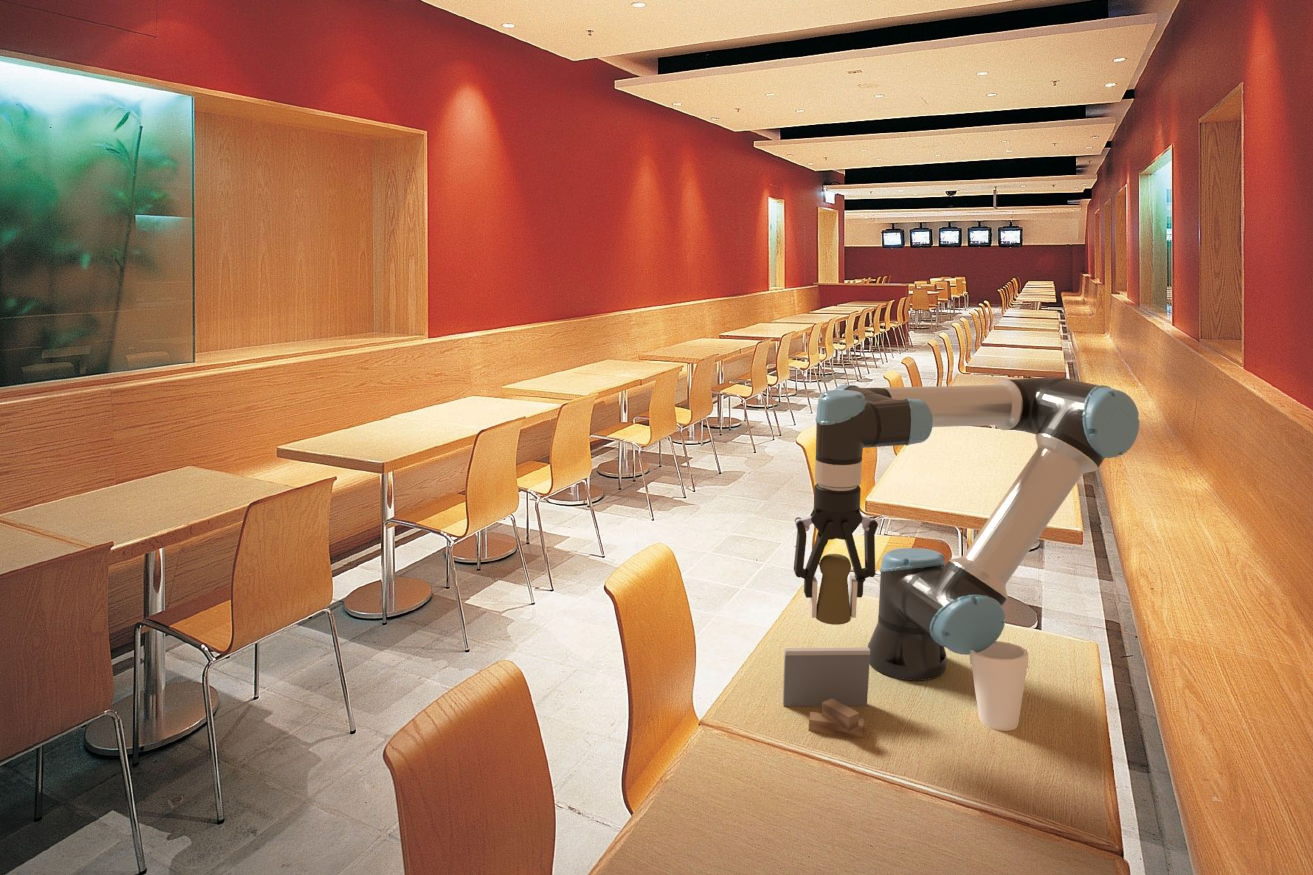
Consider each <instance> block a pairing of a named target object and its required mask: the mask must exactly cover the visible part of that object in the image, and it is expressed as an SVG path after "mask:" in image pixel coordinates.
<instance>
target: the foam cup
mask: <svg viewBox="0 0 1313 875" xmlns="http://www.w3.org/2000/svg"><path fill="white" fill-rule="evenodd" d="M969 663H970V664H969V665H971V669H972V678H973V685H974V692H975V699H976V707H977V713H978V719H979V721H980V722H981V723H982V724H983V725H984V726H986V727H988V728H989V729H993V730H996V731H999V732H1000V731H1004V732H1006V731H1012V730H1016V728H1018V727H1019V722H1020V718H1021V716H1020V715H1021V708H1022V703H1023V697H1024V696H1023V695H1024V689H1025V684H1026V683H1025V682H1026V676H1027V670H1028V668H1029V653H1028V649H1026V648H1024V647H1022V646H1020V645H1017V644H1015V643H1011V642H1005V641H998V640H996V641H995V642H994V643H993V644H992V645H991V646H990V647H988V648H987V649H985V650H983V651H981V652H978V653H976V652H975V651H974V650H970V654H969Z"/></svg>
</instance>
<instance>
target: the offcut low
mask: <svg viewBox="0 0 1313 875" xmlns="http://www.w3.org/2000/svg"><path fill="white" fill-rule="evenodd" d="M864 720H865V719H864V718H862V717H860V718H859V720H858V727H856V728H854V729H852V730H850V731H848V730H846V729H844V728H842V727H841V726H839V725H837V724H835V723H834V722H832V721H830V720H828V719H827V718H825V717H823V716H822V712H816V711H810V712H809V718H808V732H809V731H810V732H815V733H822V734H823V733H824V734H831V735H837V736H845V737H851V738H858V739H859V738H860V739H863V738H864Z"/></svg>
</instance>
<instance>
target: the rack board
mask: <svg viewBox="0 0 1313 875" xmlns="http://www.w3.org/2000/svg"><path fill="white" fill-rule="evenodd" d="M783 655H784V661H783V662H784V664H783V684H782V685H783V687H782V688H783V692H782V705H783V707H822V702H824V701H826V700H829V699H831V698H833V699H835V700H836V701H838V702H840V703H842V704H844V705H846V706H847V707H849V706H851V707H853V706H855V707H856V706H857V707H858V706H863V707H865V706H867V705H868V695H869V694H868V693H869V678H870V675H869V673H870V664H869V662H870V649H869V647H868V646H866V647H785V648H784V654H783Z"/></svg>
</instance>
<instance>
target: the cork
mask: <svg viewBox="0 0 1313 875" xmlns="http://www.w3.org/2000/svg"><path fill="white" fill-rule="evenodd" d="M851 570H852V563H851V560H850V558H849V557H847V556H846V555H843V554H838V553H827V554H825V555H822V556H821V559H820V562H819V571H820V573H821V575H822V576H821V580H820V586H819V592H818V595H817V611H816V618H815V619H816V620H817V621H819V622H820V623H823V624H826V625H832V626H833V625H835V626H836V625H837V626H838V625H844V624H848V623H849V622H850V621H851V619H852V618H851V614H850V602H849V581H848V576H850V573H851Z"/></svg>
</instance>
